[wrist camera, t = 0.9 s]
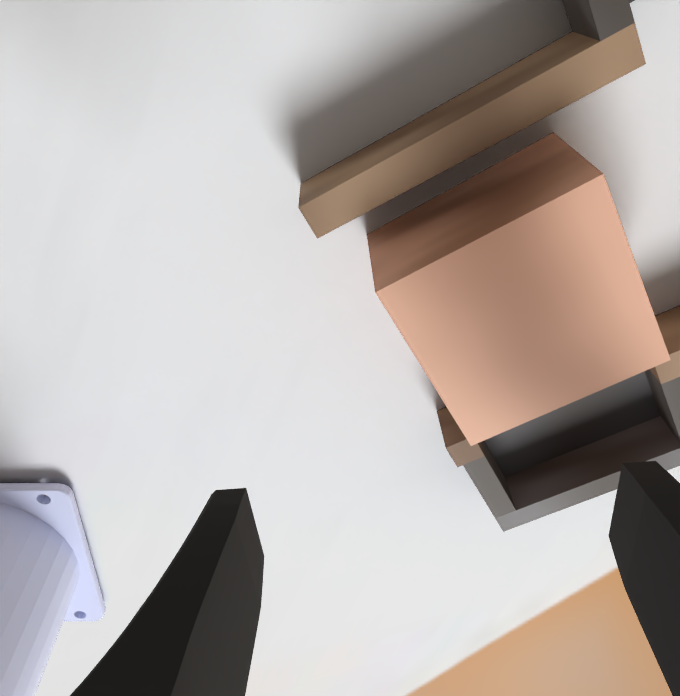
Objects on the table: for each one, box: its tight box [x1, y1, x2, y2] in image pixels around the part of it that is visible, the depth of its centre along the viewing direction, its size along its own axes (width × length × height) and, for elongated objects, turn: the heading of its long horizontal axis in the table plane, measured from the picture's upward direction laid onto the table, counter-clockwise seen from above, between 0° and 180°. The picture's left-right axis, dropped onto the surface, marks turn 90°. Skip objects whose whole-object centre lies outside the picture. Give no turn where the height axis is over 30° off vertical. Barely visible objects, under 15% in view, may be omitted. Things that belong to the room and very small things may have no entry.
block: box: [367, 133, 671, 446], centre depth 19 cm, size 6×6×4 cm
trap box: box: [298, 0, 680, 531], centre depth 18 cm, size 17×18×2 cm
